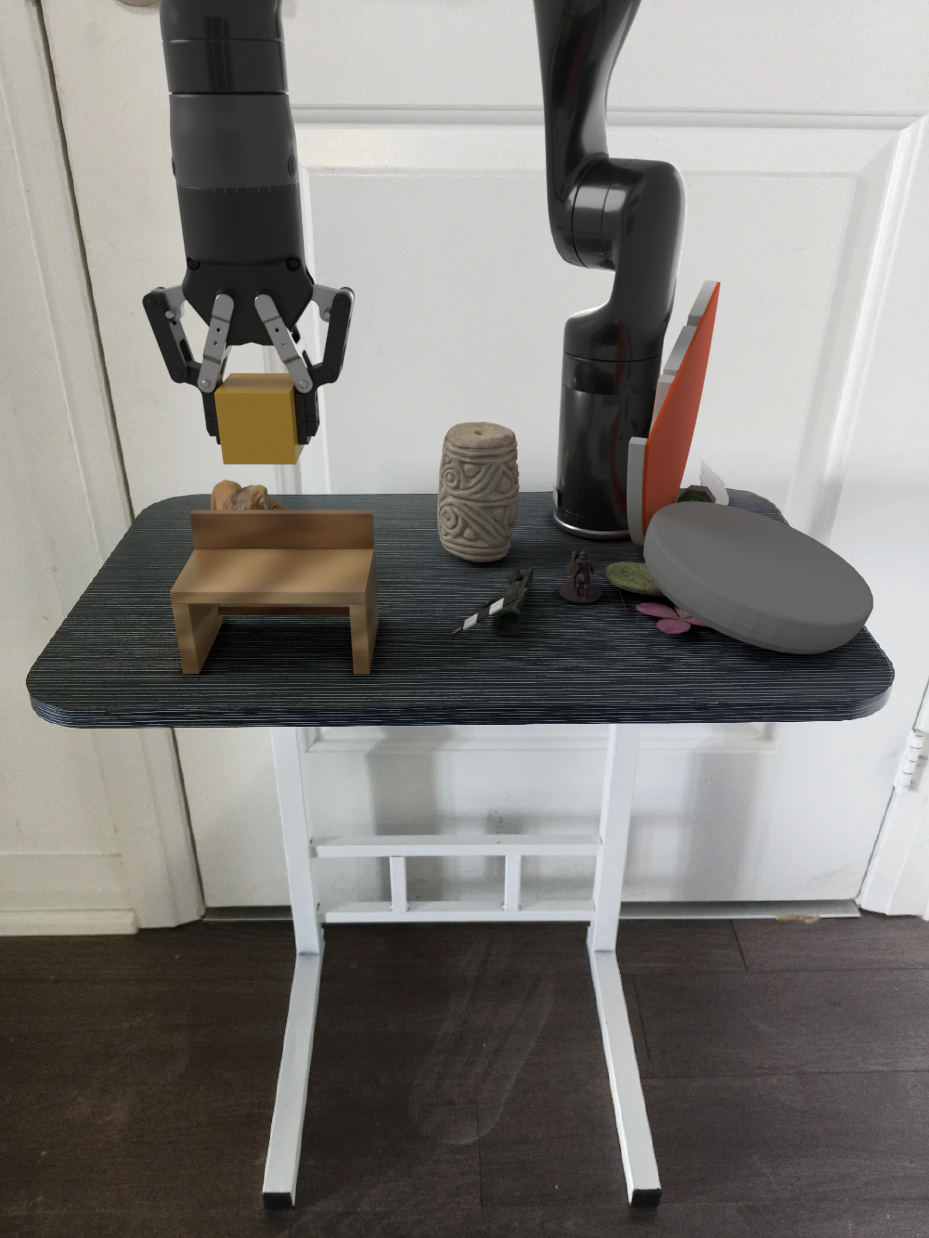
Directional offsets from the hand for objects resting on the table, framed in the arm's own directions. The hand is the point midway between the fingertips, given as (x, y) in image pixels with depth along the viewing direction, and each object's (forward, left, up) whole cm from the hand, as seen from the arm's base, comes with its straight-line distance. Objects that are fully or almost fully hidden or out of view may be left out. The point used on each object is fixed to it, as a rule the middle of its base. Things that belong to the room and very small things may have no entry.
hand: (264, 440), depth 68 cm
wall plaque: (-52, -7, -4) cm, 53 cm away
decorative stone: (-34, +18, -11) cm, 40 cm away
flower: (-28, +15, -17) cm, 36 cm away
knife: (-47, +3, -16) cm, 50 cm away
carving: (-22, -5, -17) cm, 28 cm away
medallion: (-30, +10, -16) cm, 35 cm away
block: (0, 0, -1) cm, 1 cm away
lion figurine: (-4, -16, -17) cm, 24 cm away
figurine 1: (-16, +6, -17) cm, 24 cm away
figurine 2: (-25, +7, -17) cm, 31 cm away
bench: (0, 0, -17) cm, 17 cm away
